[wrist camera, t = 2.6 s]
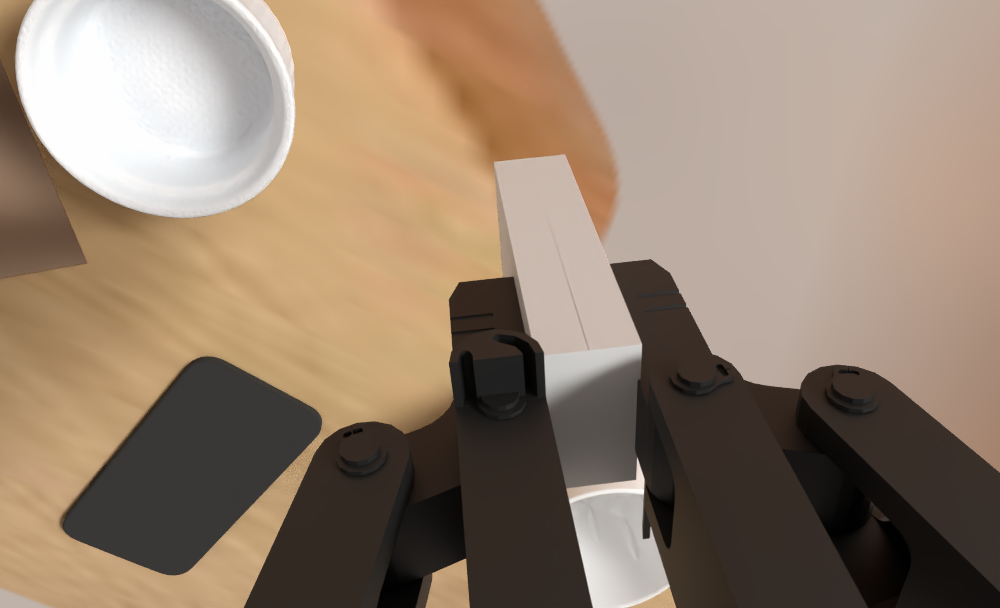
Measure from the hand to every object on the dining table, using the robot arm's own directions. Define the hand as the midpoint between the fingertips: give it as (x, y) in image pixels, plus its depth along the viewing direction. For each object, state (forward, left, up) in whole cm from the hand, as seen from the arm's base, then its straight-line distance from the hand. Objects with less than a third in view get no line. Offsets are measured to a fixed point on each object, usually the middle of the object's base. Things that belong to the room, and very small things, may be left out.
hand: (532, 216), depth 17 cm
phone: (-21, +17, -16) cm, 32 cm away
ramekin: (0, +11, -16) cm, 19 cm away
